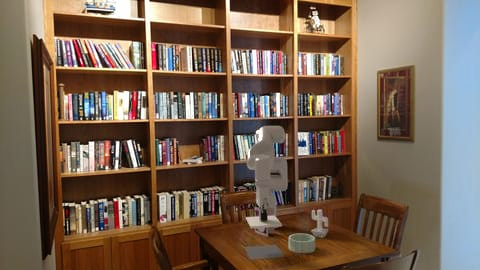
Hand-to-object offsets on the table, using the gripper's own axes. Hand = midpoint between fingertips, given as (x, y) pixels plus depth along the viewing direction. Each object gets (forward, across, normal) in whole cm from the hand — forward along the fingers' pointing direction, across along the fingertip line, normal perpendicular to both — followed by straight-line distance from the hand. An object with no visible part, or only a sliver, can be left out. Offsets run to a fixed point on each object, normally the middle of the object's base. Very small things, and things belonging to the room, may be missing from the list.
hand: (263, 218), depth 188 cm
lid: (+2, 0, 0) cm, 2 cm away
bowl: (+17, 0, +20) cm, 26 cm away
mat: (+17, +1, 0) cm, 17 cm away
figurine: (+18, -17, +36) cm, 44 cm away
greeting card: (+18, -28, +7) cm, 34 cm away
